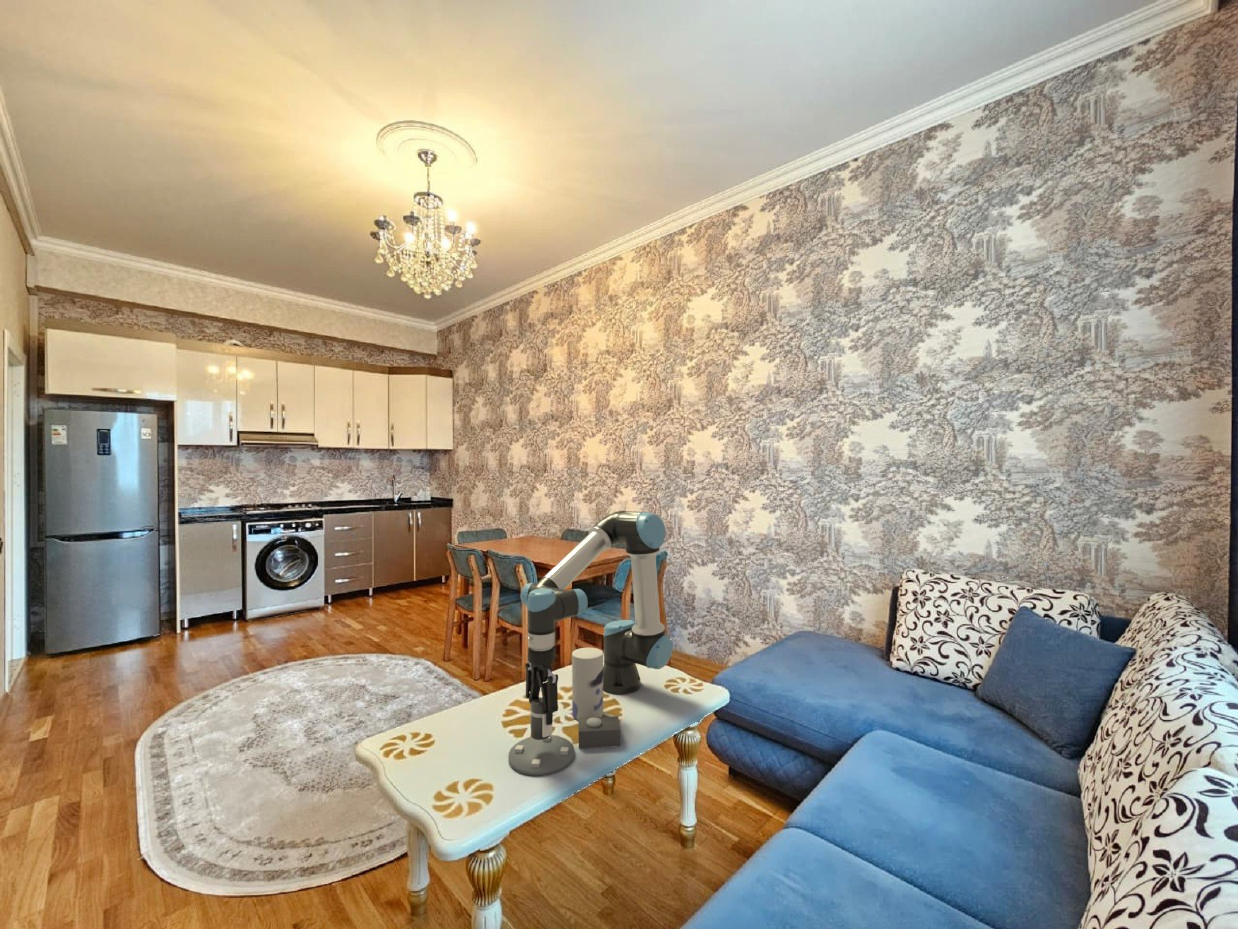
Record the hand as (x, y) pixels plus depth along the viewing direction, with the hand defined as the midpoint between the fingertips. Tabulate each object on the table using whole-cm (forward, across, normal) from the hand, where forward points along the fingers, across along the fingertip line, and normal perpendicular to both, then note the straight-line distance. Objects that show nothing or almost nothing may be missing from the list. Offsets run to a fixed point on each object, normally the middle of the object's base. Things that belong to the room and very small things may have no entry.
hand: (541, 730), depth 140 cm
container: (+7, -11, +24) cm, 28 cm away
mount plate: (+7, 0, 0) cm, 7 cm away
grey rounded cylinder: (+1, 0, 0) cm, 1 cm away
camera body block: (+7, +4, +18) cm, 19 cm away
